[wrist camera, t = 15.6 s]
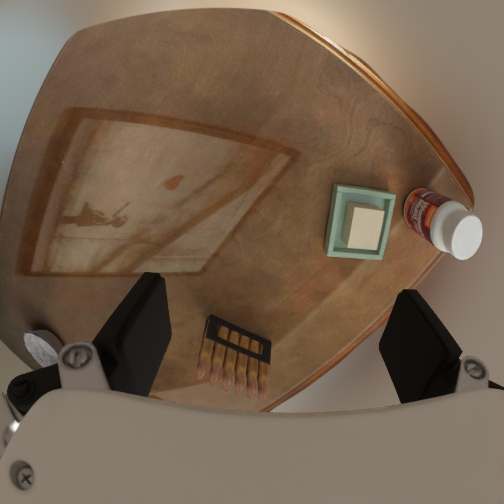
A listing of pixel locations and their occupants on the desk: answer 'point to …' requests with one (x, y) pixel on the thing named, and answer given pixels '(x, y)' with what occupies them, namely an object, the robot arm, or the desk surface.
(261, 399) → the ammunition clip
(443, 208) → the pill bottle
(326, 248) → the shallow square green tray
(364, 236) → the beige block
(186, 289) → the desk surface
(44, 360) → the bowl
